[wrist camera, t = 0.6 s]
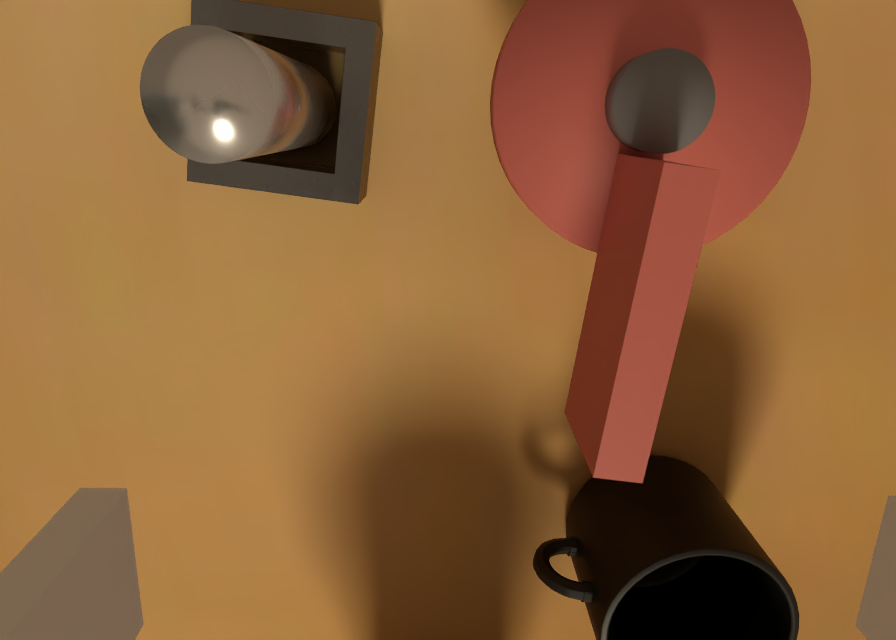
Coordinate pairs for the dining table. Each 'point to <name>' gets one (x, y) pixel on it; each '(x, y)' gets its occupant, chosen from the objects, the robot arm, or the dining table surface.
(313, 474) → the dining table surface
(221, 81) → the peg
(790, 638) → the mug
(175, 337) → the dining table surface
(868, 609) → the robot arm
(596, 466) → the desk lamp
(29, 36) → the dining table surface
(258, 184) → the collar
